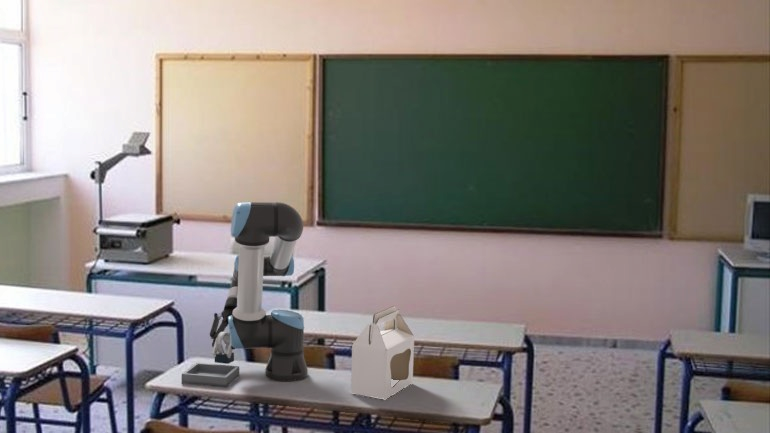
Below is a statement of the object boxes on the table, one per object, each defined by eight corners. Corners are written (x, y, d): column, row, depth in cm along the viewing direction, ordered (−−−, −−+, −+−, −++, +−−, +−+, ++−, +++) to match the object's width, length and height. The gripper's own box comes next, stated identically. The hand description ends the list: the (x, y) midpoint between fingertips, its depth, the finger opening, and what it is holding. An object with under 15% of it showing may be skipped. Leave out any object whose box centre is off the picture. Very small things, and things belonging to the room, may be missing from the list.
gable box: (385, 401, 312) (387, 318, 309) (350, 394, 318) (352, 313, 315) (413, 383, 332) (415, 306, 329) (379, 378, 338) (382, 301, 334)
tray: (239, 375, 335) (239, 366, 334) (225, 387, 321) (226, 377, 321) (196, 372, 338) (196, 362, 337) (181, 383, 324) (181, 373, 323)
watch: (236, 359, 346) (236, 330, 344) (225, 365, 338) (224, 335, 337) (223, 358, 348) (223, 329, 347) (211, 363, 340) (211, 333, 339)
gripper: (261, 308, 355) (247, 362, 340) (216, 305, 357) (200, 359, 343) (257, 297, 349) (242, 352, 334) (211, 294, 352) (194, 348, 337)
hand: (221, 355), depth 339 cm, fingers closed on watch, 5 cm apart
